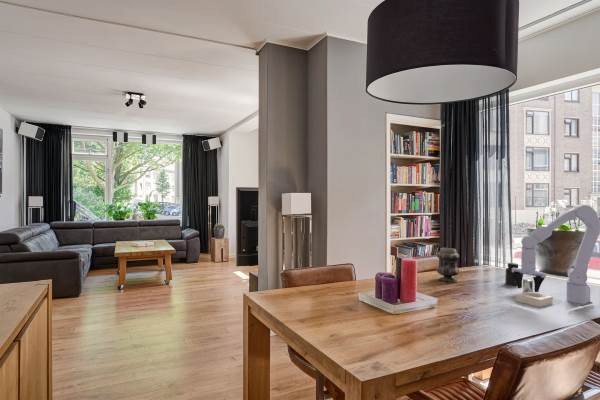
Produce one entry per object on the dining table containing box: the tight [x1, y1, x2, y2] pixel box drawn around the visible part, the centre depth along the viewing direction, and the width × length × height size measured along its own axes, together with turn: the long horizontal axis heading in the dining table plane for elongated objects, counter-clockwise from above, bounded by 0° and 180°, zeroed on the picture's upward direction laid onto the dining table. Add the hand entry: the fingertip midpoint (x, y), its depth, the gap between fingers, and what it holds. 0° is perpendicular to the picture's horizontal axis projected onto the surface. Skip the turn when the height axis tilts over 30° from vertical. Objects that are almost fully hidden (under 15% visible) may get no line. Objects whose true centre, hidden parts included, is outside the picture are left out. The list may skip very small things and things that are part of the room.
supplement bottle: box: [504, 262, 519, 287], centre depth 192 cm, size 7×7×12 cm
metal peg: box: [522, 278, 534, 293], centre depth 171 cm, size 4×4×7 cm
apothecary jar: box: [436, 247, 460, 283], centre depth 204 cm, size 12×12×18 cm
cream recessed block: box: [499, 291, 567, 309], centre depth 164 cm, size 20×18×4 cm
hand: (528, 289), depth 171 cm, fingers open, 7 cm apart
